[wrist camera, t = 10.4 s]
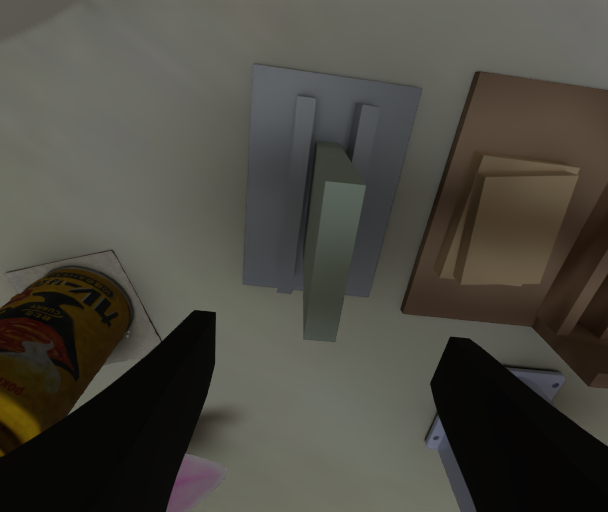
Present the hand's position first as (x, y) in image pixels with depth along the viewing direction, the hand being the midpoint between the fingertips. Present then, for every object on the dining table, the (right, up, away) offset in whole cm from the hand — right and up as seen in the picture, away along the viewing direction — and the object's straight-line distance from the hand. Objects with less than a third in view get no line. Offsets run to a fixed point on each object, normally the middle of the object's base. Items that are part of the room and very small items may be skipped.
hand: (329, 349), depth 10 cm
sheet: (0, +6, +8) cm, 10 cm away
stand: (0, +6, +8) cm, 10 cm away
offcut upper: (+10, +4, +8) cm, 13 cm away
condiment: (-15, -1, +12) cm, 19 cm away
